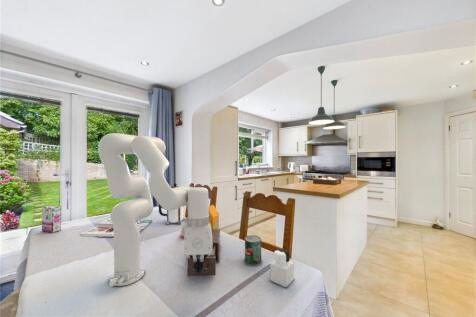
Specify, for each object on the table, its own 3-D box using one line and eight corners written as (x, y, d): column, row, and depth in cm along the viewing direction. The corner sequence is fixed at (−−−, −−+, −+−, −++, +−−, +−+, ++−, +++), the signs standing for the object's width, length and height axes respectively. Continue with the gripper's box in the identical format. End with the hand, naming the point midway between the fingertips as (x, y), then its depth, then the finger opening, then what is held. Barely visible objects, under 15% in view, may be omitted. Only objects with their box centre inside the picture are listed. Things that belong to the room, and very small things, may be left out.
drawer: (214, 282, 77) (214, 263, 77) (184, 283, 77) (184, 264, 77) (217, 255, 99) (217, 240, 99) (194, 256, 98) (194, 241, 98)
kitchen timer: (192, 241, 117) (192, 216, 117) (176, 236, 124) (176, 213, 124) (207, 234, 129) (207, 211, 129) (192, 230, 136) (192, 208, 136)
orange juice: (201, 240, 119) (201, 207, 119) (207, 234, 128) (207, 203, 127) (213, 242, 117) (213, 208, 117) (219, 236, 125) (219, 204, 125)
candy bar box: (61, 230, 135) (61, 206, 135) (52, 233, 130) (52, 208, 130) (50, 228, 139) (50, 205, 138) (41, 231, 134) (41, 206, 134)
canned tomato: (264, 260, 96) (264, 237, 96) (256, 267, 90) (256, 243, 90) (250, 255, 101) (250, 234, 101) (241, 262, 94) (241, 239, 94)
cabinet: (218, 262, 95) (218, 242, 95) (191, 262, 94) (191, 243, 94) (220, 245, 112) (220, 229, 112) (197, 245, 112) (197, 229, 112)
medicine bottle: (278, 272, 86) (278, 245, 86) (293, 279, 81) (294, 250, 81) (269, 280, 80) (269, 251, 80) (286, 288, 76) (286, 256, 76)
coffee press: (179, 217, 163) (179, 181, 163) (188, 222, 151) (188, 183, 151) (158, 222, 152) (158, 183, 152) (166, 227, 140) (165, 185, 140)
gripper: (175, 225, 69) (175, 278, 69) (218, 224, 70) (218, 276, 70) (180, 218, 76) (181, 266, 77) (219, 217, 77) (219, 264, 77)
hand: (199, 270), depth 73 cm, fingers closed
